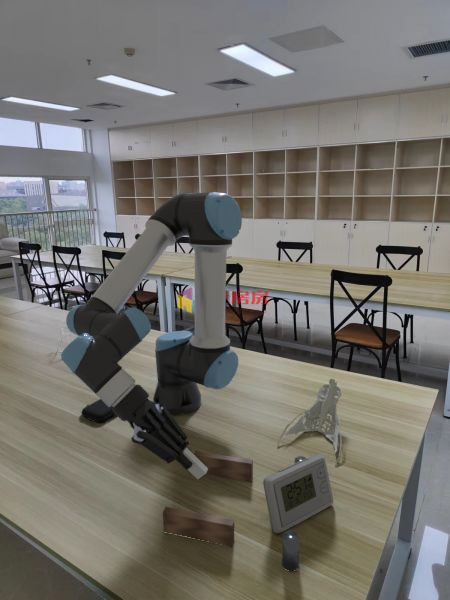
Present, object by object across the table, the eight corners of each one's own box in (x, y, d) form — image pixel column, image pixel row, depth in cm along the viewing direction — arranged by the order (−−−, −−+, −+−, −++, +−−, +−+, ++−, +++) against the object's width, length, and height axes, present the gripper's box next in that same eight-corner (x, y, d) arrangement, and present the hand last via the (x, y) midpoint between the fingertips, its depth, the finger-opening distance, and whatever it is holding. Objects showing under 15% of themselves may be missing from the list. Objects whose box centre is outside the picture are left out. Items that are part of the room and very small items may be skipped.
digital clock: (272, 539, 80) (273, 493, 77) (253, 506, 88) (253, 464, 86) (343, 516, 85) (346, 472, 83) (319, 488, 94) (321, 447, 91)
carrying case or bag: (113, 396, 137) (76, 417, 125) (112, 388, 136) (75, 408, 124) (136, 404, 132) (101, 427, 120) (136, 396, 131) (100, 417, 119)
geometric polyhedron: (67, 344, 183) (64, 325, 180) (91, 345, 182) (88, 325, 179) (53, 355, 171) (50, 335, 169) (78, 356, 170) (75, 335, 167)
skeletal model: (275, 449, 108) (299, 362, 119) (283, 458, 115) (306, 376, 126) (336, 466, 100) (356, 372, 111) (342, 475, 107) (360, 386, 119)
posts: (281, 569, 74) (281, 542, 72) (294, 477, 97) (295, 455, 95) (298, 573, 73) (299, 545, 71) (307, 479, 96) (308, 457, 95)
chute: (163, 533, 82) (162, 512, 81) (196, 468, 100) (195, 450, 99) (232, 547, 78) (232, 525, 77) (252, 478, 97) (252, 459, 96)
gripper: (127, 390, 94) (200, 463, 95) (97, 422, 82) (181, 505, 83) (147, 371, 92) (222, 446, 92) (119, 401, 79) (205, 487, 80)
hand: (202, 474), depth 87 cm, fingers closed
